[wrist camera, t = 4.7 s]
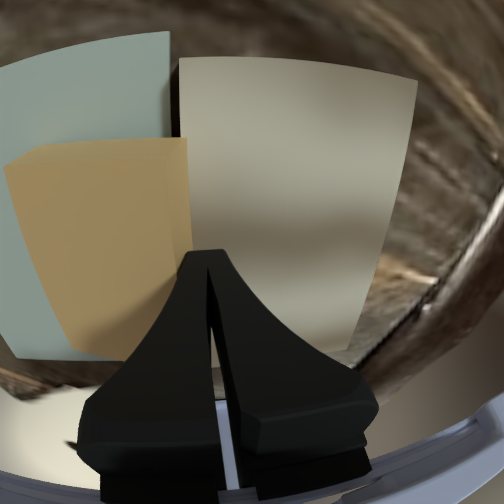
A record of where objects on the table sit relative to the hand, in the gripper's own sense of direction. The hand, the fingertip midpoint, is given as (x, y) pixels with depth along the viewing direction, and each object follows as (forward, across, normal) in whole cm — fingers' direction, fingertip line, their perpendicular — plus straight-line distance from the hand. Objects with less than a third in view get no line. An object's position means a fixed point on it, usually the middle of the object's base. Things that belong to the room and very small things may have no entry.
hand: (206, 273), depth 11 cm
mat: (+3, +7, 0) cm, 8 cm away
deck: (+3, -3, 0) cm, 4 cm away
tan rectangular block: (+1, +4, 0) cm, 4 cm away
